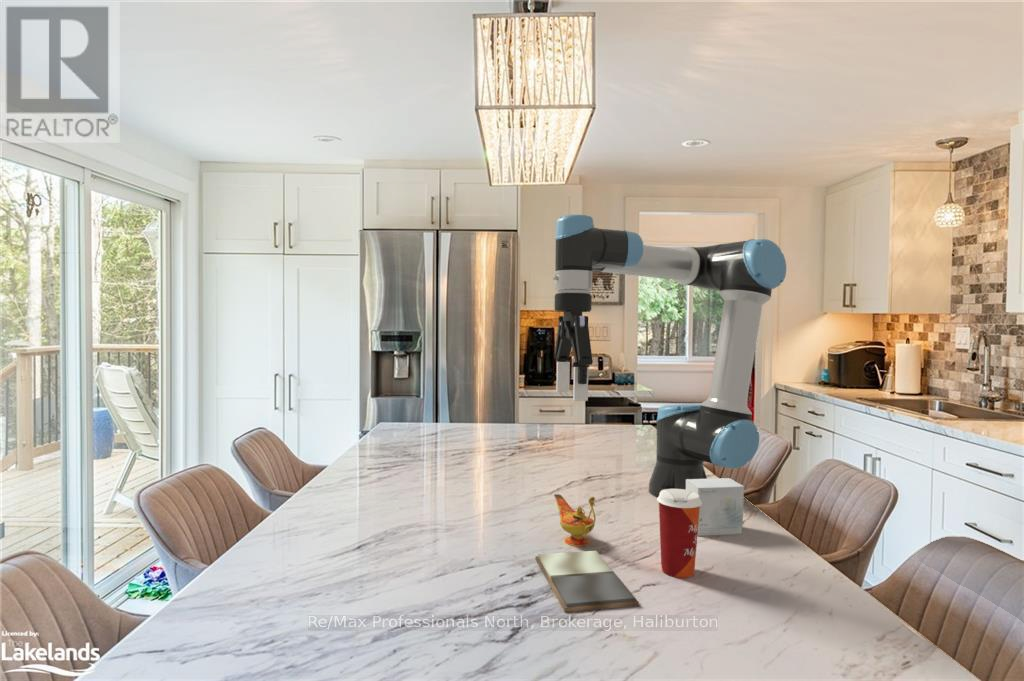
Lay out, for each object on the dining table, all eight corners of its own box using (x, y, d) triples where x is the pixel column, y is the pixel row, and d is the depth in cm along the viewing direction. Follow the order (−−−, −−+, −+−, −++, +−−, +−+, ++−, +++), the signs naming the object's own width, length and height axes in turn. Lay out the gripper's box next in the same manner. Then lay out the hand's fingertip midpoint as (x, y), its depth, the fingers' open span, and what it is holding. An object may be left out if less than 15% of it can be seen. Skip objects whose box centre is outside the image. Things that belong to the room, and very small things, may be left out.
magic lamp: (569, 522, 131) (570, 472, 130) (610, 553, 114) (611, 496, 114) (540, 525, 128) (541, 475, 128) (578, 557, 112) (579, 499, 111)
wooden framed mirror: (597, 555, 113) (597, 549, 113) (638, 605, 93) (638, 598, 93) (535, 559, 111) (535, 553, 110) (564, 612, 91) (564, 605, 91)
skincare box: (697, 537, 123) (698, 487, 123) (683, 526, 129) (684, 478, 129) (743, 534, 125) (745, 485, 124) (728, 524, 131) (729, 477, 131)
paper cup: (702, 582, 102) (704, 501, 101) (656, 578, 103) (658, 498, 102) (697, 564, 109) (699, 488, 109) (654, 560, 111) (656, 486, 110)
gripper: (541, 294, 133) (540, 388, 134) (571, 289, 108) (569, 405, 109) (574, 295, 134) (572, 388, 135) (611, 290, 109) (608, 404, 110)
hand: (571, 396), depth 122 cm, fingers open, 13 cm apart
